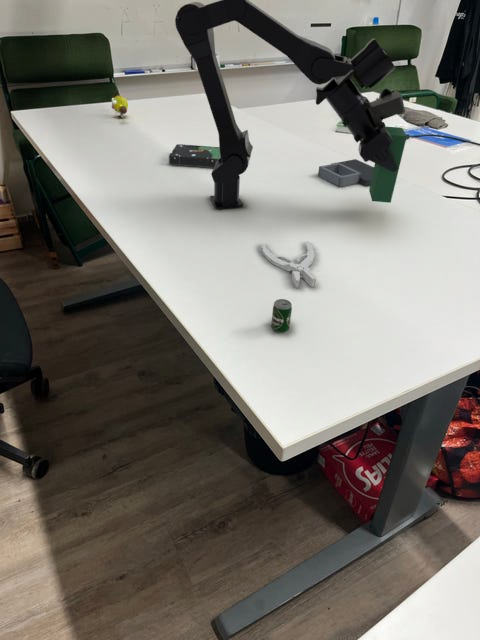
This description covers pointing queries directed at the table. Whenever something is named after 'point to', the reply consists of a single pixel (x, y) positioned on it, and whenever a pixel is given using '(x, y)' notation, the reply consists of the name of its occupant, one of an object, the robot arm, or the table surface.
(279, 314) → the beer can
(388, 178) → the green rectangular block
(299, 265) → the pliers
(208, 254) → the table surface
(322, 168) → the compartment tray
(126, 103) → the toy figure
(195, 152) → the disk drive
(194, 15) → the robot arm
